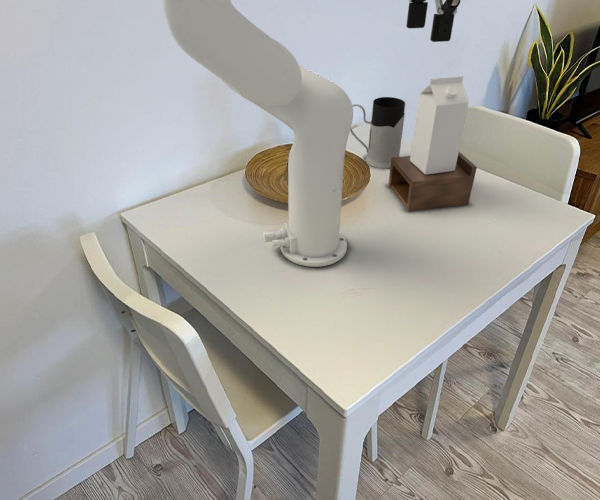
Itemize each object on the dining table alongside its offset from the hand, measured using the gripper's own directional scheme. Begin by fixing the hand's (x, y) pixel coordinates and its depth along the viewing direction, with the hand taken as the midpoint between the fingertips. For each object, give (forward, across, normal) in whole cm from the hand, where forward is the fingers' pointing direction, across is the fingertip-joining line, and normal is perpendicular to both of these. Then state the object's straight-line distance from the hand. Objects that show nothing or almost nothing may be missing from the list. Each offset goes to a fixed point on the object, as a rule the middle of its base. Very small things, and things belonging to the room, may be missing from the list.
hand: (427, 34), depth 85 cm
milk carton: (+30, -9, +10) cm, 32 cm away
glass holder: (+36, -29, +4) cm, 47 cm away
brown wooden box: (+36, -9, +10) cm, 39 cm away
